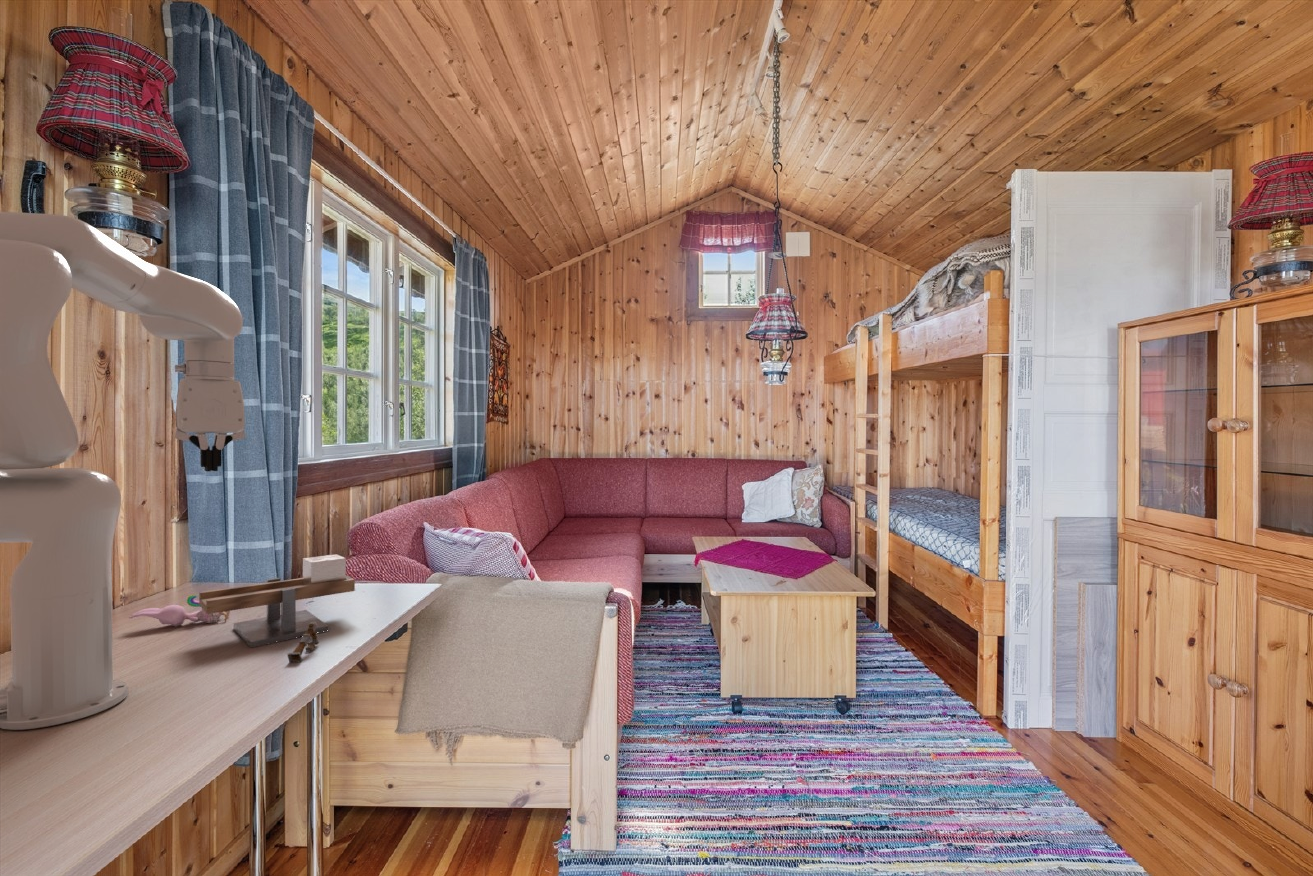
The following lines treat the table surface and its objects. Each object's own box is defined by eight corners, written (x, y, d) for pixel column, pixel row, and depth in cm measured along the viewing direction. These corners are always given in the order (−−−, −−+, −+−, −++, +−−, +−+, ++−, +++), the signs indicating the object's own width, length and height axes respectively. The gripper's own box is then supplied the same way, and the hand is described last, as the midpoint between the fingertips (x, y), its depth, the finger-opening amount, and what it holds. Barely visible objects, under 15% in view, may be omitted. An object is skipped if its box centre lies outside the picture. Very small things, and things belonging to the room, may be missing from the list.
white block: (310, 589, 113) (311, 562, 113) (302, 584, 116) (302, 558, 116) (345, 584, 117) (345, 558, 117) (336, 579, 121) (336, 554, 121)
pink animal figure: (228, 622, 120) (132, 621, 113) (234, 592, 121) (139, 589, 114) (223, 631, 115) (122, 631, 108) (229, 600, 115) (129, 597, 108)
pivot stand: (250, 648, 102) (250, 597, 102) (233, 628, 112) (233, 582, 112) (328, 631, 111) (328, 584, 110) (306, 614, 121) (305, 572, 120)
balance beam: (207, 614, 100) (207, 601, 100) (199, 604, 106) (199, 592, 106) (354, 591, 116) (354, 579, 116) (340, 583, 122) (340, 572, 122)
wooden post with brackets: (324, 638, 104) (319, 618, 102) (304, 674, 97) (299, 653, 95) (313, 639, 104) (308, 618, 102) (292, 675, 97) (286, 653, 95)
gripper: (161, 368, 105) (162, 474, 106) (261, 374, 116) (262, 470, 116) (156, 371, 111) (157, 472, 111) (252, 376, 121) (253, 468, 121)
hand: (211, 470), depth 114 cm, fingers closed
